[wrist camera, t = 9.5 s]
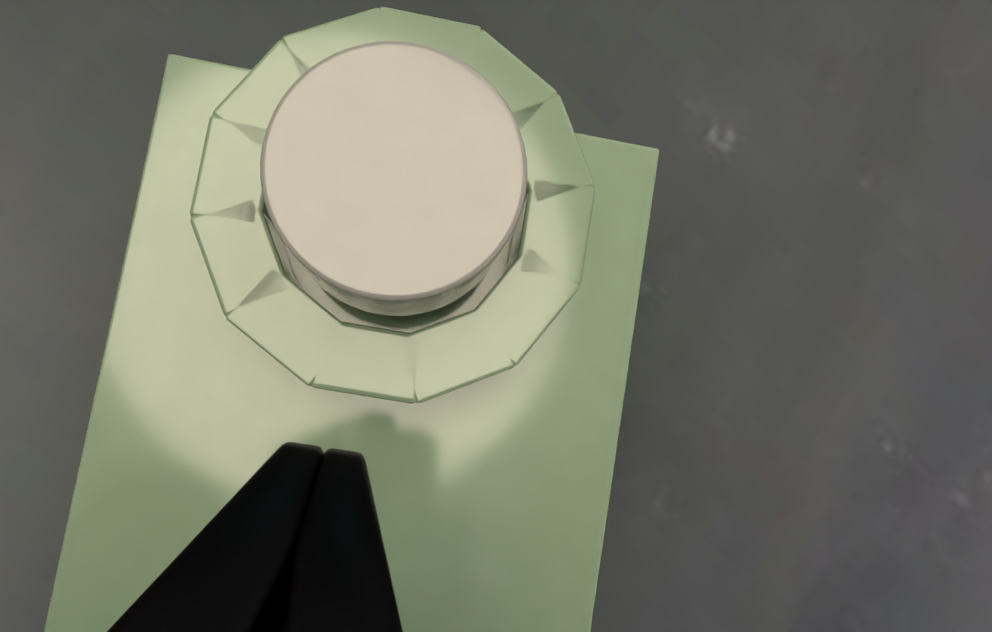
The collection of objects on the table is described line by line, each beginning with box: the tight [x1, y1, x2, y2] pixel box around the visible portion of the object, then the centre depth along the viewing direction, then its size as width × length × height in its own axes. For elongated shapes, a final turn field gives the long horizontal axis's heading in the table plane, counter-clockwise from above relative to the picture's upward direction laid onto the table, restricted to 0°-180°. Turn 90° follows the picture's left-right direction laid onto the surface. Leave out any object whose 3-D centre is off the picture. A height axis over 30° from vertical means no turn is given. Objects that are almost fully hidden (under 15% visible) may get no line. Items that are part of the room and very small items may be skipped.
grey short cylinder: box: [260, 41, 528, 316], centre depth 13 cm, size 4×4×3 cm
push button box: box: [44, 7, 659, 632], centre depth 17 cm, size 13×10×7 cm
